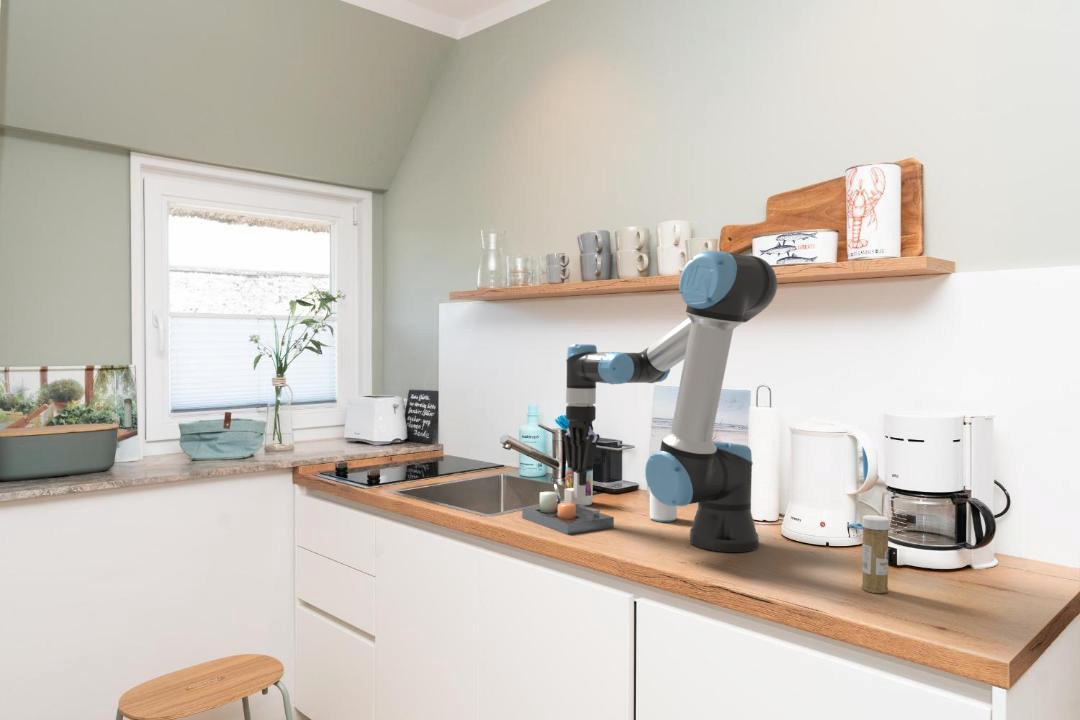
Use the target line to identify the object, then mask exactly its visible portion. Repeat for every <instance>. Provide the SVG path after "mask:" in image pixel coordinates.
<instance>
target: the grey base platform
mask: <svg viewBox="0 0 1080 720" xmlns="http://www.w3.org/2000/svg"><path fill="white" fill-rule="evenodd" d="M553 488H554V492H556V493H557V512H553V513H544V512H540V505H539V506H537V505H536V506H531V507H530V506H528V507H522V509H521V510H522V511H521V513H522V514H521V518H522V519H524V520H527V521H530V522H533V523H535V524H537V525H541V526H543V527H545V528H546V527H547V528H549V529H552V530H555V531H557V532H559V533H562V534H565V535H572V534H573V535H575V534H578V533H579V534H580V533H586V532H592V531H599V530H604V529H611V528H614V527H615V526H614V525H615V524H614V519H615V517H614V516H611V515H607V514H605V513H602V512H600V509H596V508H593V507H590V506H588V505H586V506H584V505H580V504H575V505H576V519H569V520H562V519H559V518H558V504H560V503H564V499H561V495H560V494H561V493H560V490H559V485H558V484H556V483H555V484H553Z"/></svg>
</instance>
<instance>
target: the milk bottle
mask: <svg viewBox="0 0 1080 720" xmlns="http://www.w3.org/2000/svg"><path fill="white" fill-rule="evenodd" d="M565 462H566V463H565V483H564V484H565V488H564V490H565V489H569V488H574V484H573V471H572V469H571V468H568V466H567V460H566V461H565ZM571 463H572V462H571ZM593 469H594V468H593ZM593 469H592V471H588V472H587V476H586V486H585V498H584V503H580V505H584V506H590V505H592V503H593V492H594V491H593V490H594V489H593V487H594V485H593V483H594V482H593V481H594V480H593V479H594V477H593V474H594V471H593Z"/></svg>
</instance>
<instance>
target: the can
mask: <svg viewBox="0 0 1080 720" xmlns="http://www.w3.org/2000/svg"><path fill="white" fill-rule="evenodd" d="M648 508H649V512H648V513H649V516H648V517H649V518H651V519H652V521H655V522H659V523H660V522H661V523H670V522H671V523H672V522H674V520H677V518H678V506H668V505H665V504H663V503H661V502H660V501H658V500H657V499H656V498H655V497H654V496H653V494H652V492H651V490H650V489H649V507H648Z"/></svg>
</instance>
